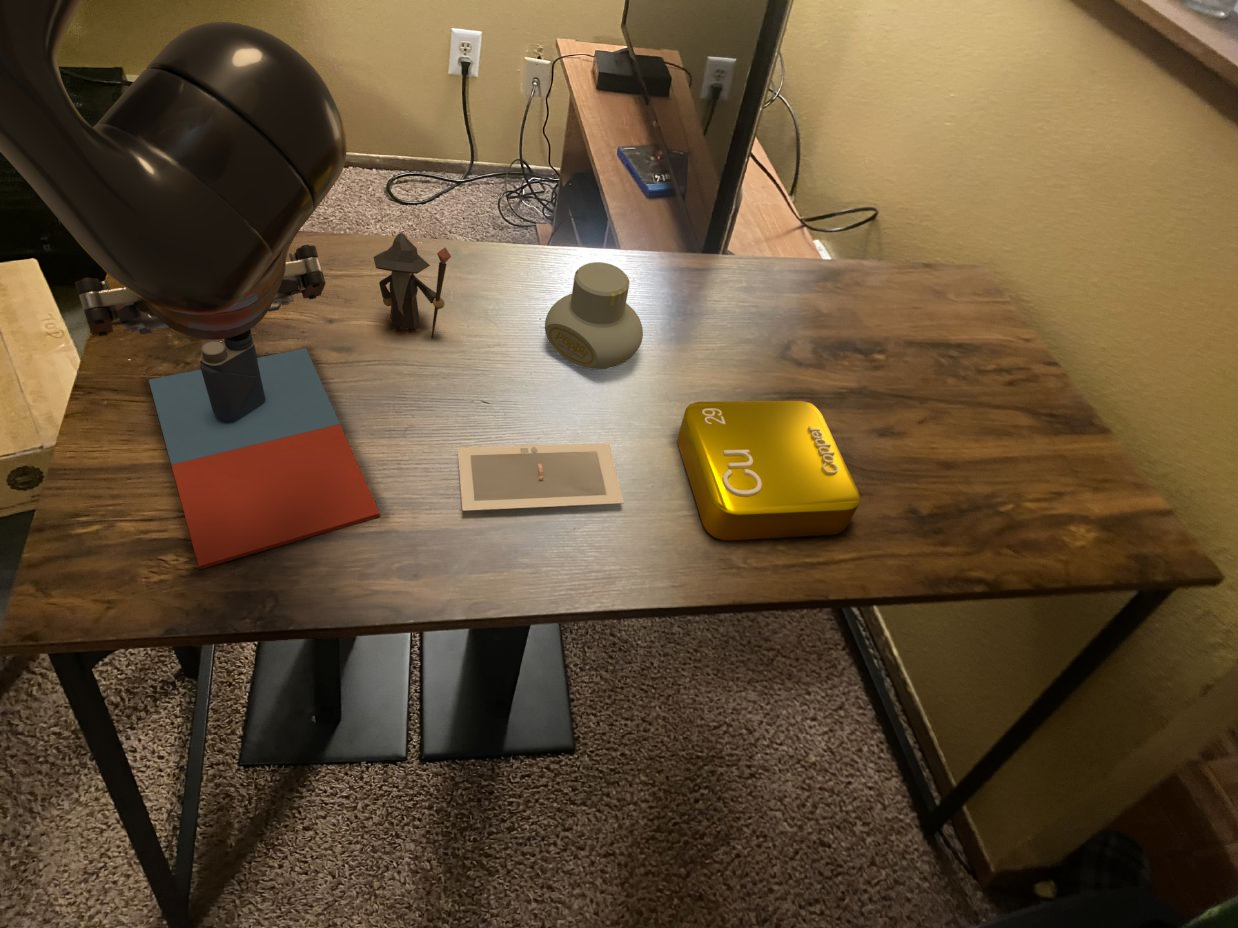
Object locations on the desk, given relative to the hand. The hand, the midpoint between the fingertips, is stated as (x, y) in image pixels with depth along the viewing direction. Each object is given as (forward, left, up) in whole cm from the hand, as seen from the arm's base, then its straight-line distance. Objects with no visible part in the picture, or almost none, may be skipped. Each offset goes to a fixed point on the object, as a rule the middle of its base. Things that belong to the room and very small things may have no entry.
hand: (206, 307), depth 60 cm
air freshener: (+38, +7, -20) cm, 44 cm away
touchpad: (+24, -9, -20) cm, 33 cm away
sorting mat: (+2, +5, -20) cm, 21 cm away
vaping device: (+1, +10, -20) cm, 22 cm away
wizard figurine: (+21, +17, -20) cm, 34 cm away
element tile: (+45, -17, -20) cm, 52 cm away
